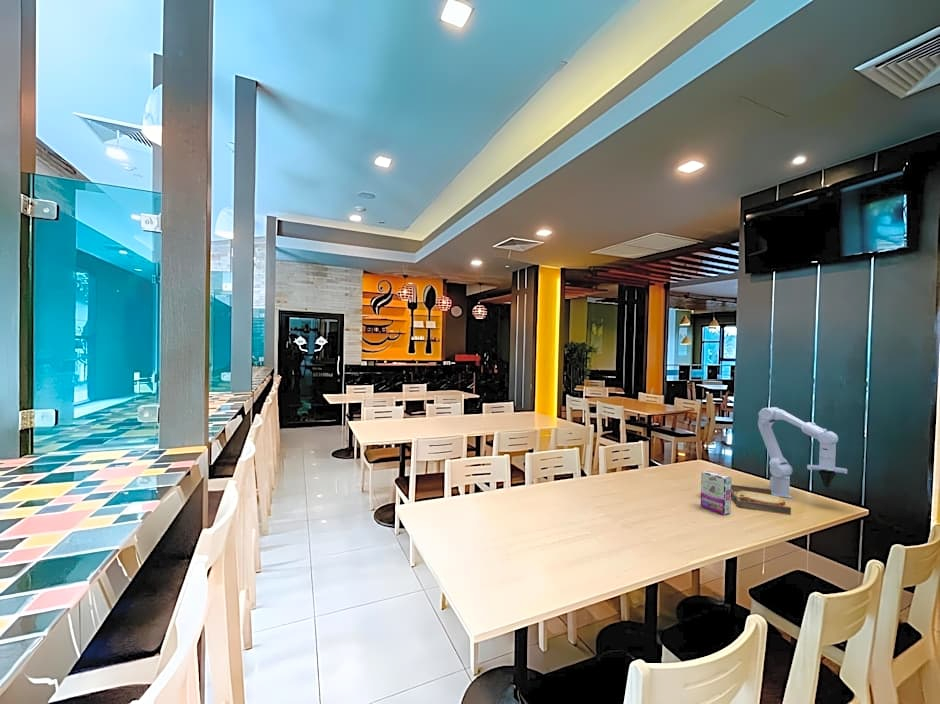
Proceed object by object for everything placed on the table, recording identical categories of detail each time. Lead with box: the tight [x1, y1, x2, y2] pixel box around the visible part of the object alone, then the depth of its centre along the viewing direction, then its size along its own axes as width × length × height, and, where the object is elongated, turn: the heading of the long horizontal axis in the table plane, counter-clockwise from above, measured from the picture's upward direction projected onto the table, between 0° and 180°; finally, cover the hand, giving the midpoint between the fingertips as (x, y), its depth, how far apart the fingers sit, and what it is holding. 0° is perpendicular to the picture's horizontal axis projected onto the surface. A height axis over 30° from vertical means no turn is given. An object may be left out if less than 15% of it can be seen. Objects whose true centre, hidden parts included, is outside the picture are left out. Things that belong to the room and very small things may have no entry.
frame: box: [731, 484, 792, 515], centre depth 199 cm, size 26×20×3 cm
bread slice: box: [734, 490, 786, 506], centre depth 200 cm, size 18×18×4 cm
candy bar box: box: [700, 470, 732, 516], centre depth 186 cm, size 11×5×16 cm, turn 27°
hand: (826, 486), depth 193 cm, fingers closed
